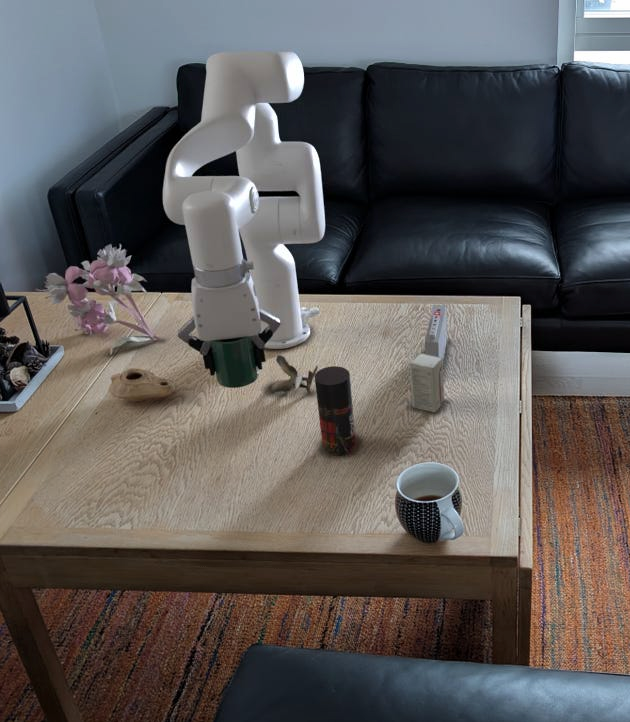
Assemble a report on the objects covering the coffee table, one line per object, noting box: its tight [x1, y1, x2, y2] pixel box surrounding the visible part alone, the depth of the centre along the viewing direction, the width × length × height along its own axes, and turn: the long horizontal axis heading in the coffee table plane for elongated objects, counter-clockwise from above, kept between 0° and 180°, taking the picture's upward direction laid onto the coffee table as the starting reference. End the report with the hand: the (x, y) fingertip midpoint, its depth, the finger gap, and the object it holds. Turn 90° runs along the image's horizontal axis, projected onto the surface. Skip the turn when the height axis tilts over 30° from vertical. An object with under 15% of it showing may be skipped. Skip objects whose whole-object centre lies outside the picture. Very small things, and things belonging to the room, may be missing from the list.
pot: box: [210, 336, 260, 389], centre depth 137 cm, size 7×7×8 cm
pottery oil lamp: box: [108, 368, 176, 403], centre depth 160 cm, size 9×12×7 cm
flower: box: [35, 243, 161, 355], centre depth 177 cm, size 20×22×25 cm
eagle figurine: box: [267, 354, 319, 395], centre depth 163 cm, size 8×7×9 cm
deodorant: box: [314, 365, 357, 457], centre depth 146 cm, size 6×6×15 cm
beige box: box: [409, 352, 445, 413], centre depth 158 cm, size 5×4×10 cm
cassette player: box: [424, 304, 448, 359], centre depth 172 cm, size 16×3×10 cm, turn 176°
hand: (236, 367), depth 139 cm, fingers closed on pot, 7 cm apart
